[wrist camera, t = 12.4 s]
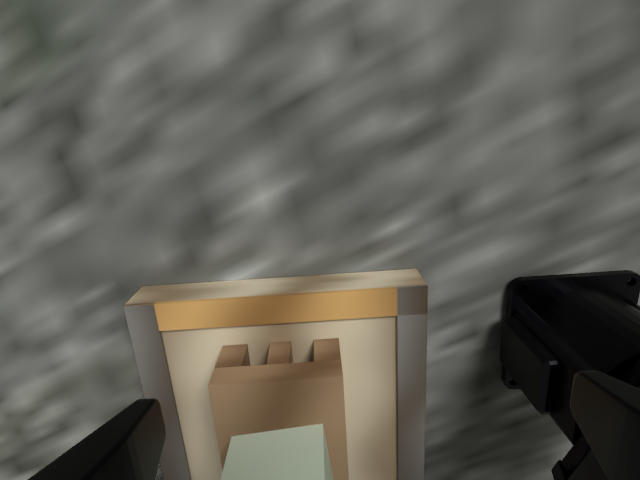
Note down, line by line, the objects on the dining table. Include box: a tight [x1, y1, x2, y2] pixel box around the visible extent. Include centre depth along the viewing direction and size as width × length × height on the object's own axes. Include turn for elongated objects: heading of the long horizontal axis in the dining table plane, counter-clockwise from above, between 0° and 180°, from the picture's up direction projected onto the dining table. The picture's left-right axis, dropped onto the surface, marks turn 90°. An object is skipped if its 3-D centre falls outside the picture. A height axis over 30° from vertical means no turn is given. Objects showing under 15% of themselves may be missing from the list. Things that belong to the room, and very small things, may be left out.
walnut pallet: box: [208, 338, 349, 480], centre depth 20 cm, size 6×9×3 cm, turn 4°
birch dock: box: [123, 269, 428, 480], centre depth 22 cm, size 14×14×2 cm
